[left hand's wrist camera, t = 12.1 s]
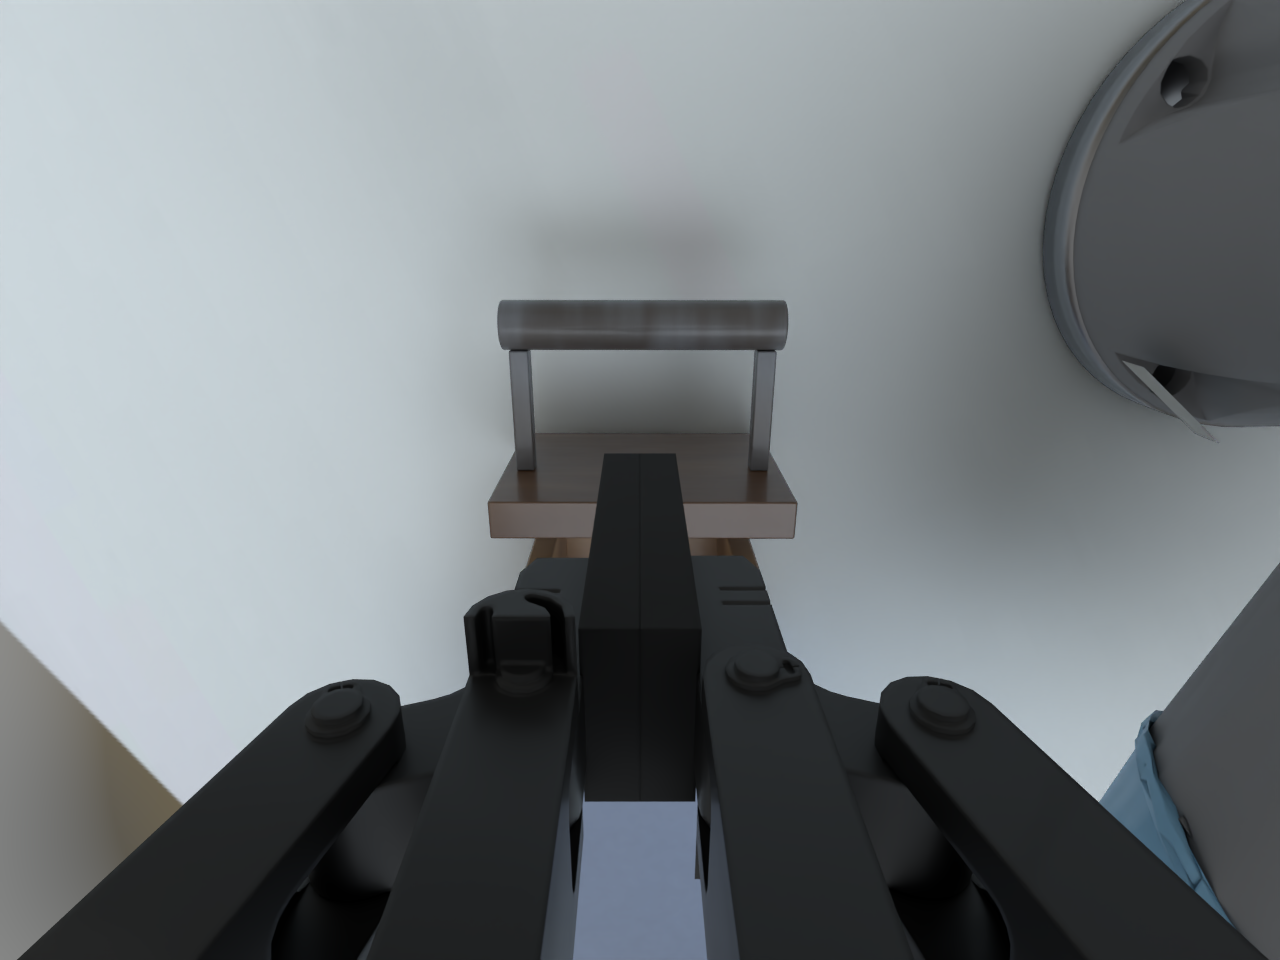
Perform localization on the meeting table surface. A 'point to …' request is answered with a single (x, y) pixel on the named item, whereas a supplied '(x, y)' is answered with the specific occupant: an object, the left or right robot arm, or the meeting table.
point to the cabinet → (639, 883)
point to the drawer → (707, 462)
